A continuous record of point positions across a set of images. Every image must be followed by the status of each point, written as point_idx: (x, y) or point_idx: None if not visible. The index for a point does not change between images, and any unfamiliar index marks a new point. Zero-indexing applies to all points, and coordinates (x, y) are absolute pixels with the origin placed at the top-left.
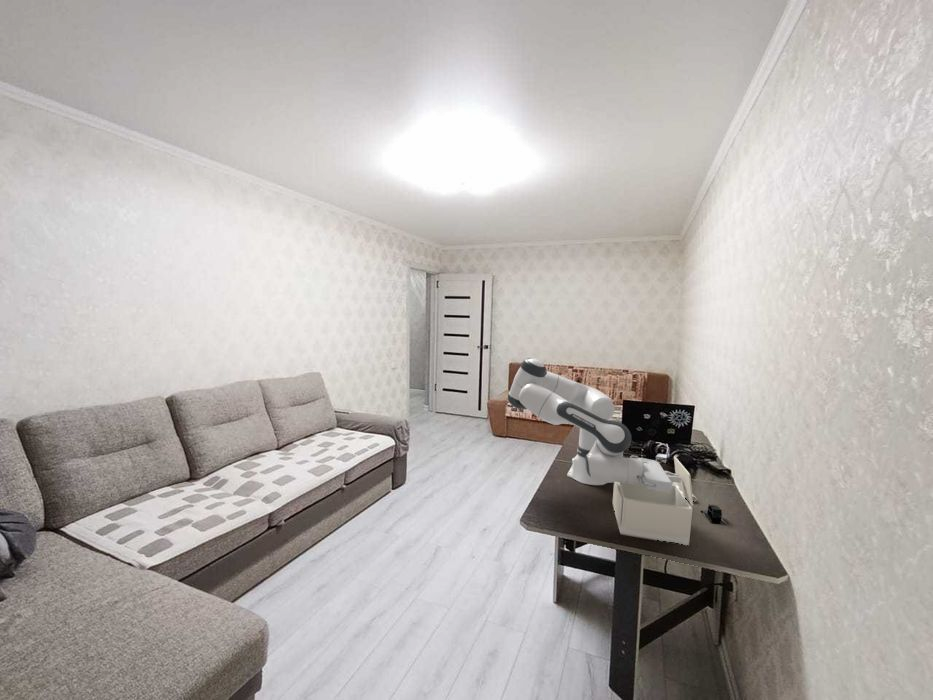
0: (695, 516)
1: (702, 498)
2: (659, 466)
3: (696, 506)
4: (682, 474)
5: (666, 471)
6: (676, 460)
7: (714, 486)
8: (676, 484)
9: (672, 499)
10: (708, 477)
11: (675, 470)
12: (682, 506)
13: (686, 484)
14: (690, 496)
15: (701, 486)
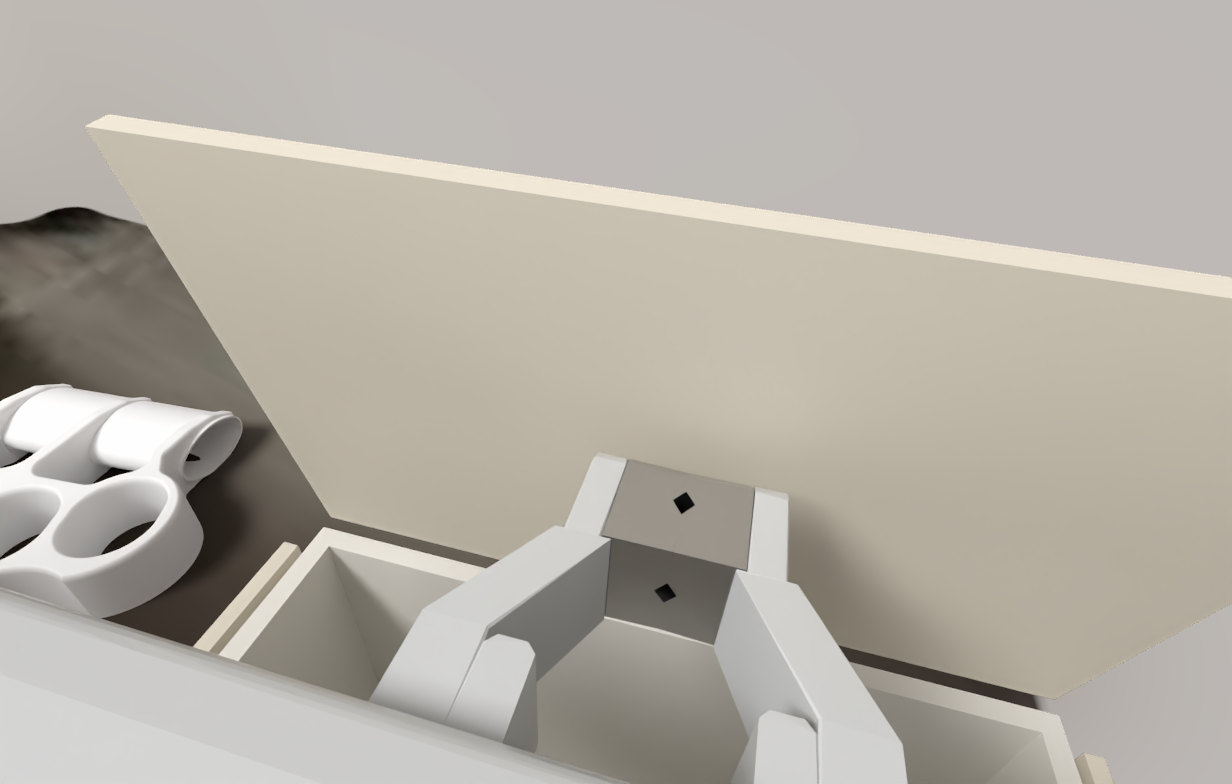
0: (408, 539)
1: (219, 384)
2: (107, 727)
3: (290, 461)
4: (746, 408)
5: (446, 635)
6: (308, 187)
7: (143, 283)
8: (2, 420)
9: (359, 664)
10: (49, 257)
11: (259, 384)
12: (688, 706)
13: (965, 531)
14: (1097, 642)
15: (101, 321)
